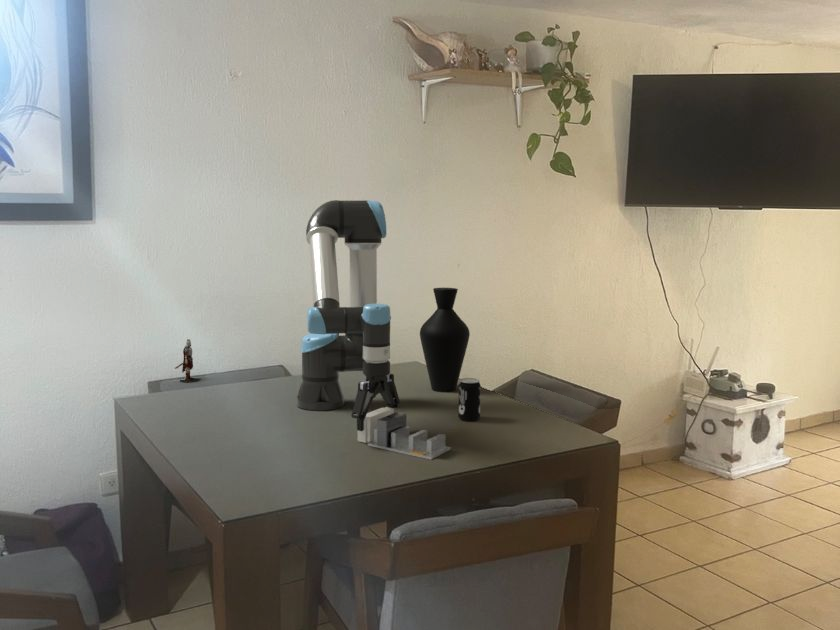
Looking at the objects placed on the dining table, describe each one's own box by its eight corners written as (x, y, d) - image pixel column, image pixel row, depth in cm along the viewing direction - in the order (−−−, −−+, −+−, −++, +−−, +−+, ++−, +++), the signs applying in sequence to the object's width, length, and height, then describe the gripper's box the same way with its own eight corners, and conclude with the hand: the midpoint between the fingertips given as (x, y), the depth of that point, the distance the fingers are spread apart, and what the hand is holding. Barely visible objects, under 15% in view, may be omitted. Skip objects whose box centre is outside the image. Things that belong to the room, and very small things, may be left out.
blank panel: (361, 440, 219) (361, 415, 218) (382, 431, 227) (382, 407, 226) (369, 442, 217) (369, 417, 216) (390, 433, 226) (390, 409, 225)
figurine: (196, 383, 281) (194, 341, 278) (175, 382, 281) (173, 340, 278) (201, 378, 287) (200, 337, 285) (181, 378, 287) (179, 337, 285)
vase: (433, 397, 265) (435, 293, 259) (410, 386, 280) (411, 287, 274) (477, 392, 273) (480, 290, 267) (452, 381, 288) (454, 285, 282)
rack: (367, 445, 214) (367, 418, 213) (389, 436, 222) (389, 409, 221) (431, 459, 203) (431, 430, 202) (450, 449, 212) (451, 421, 211)
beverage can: (478, 422, 237) (479, 383, 235) (456, 421, 238) (457, 382, 236) (481, 416, 243) (482, 378, 241) (459, 415, 244) (460, 377, 242)
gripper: (360, 370, 207) (360, 449, 210) (412, 354, 227) (411, 427, 230) (338, 366, 211) (338, 444, 214) (390, 351, 231) (390, 423, 234)
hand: (376, 435), depth 222 cm, fingers open, 12 cm apart
